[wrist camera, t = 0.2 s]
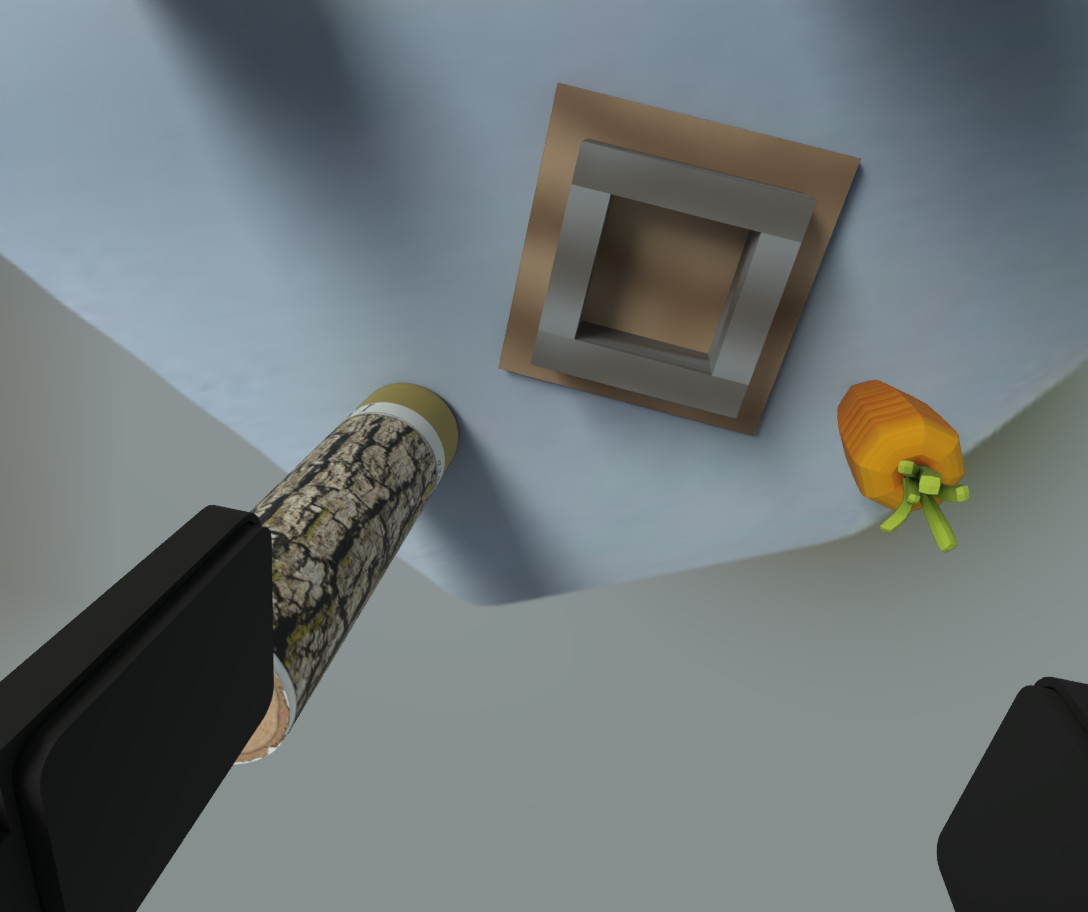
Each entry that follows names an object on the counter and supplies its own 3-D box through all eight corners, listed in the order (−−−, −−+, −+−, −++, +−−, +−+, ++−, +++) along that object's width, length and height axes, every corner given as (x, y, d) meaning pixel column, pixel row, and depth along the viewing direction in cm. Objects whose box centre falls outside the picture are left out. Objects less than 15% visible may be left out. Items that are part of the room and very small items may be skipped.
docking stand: (560, 83, 39) (546, 79, 35) (856, 157, 39) (881, 164, 34) (501, 363, 46) (484, 390, 42) (751, 429, 46) (761, 464, 41)
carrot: (891, 433, 45) (990, 572, 31) (806, 426, 45) (867, 560, 32) (911, 353, 42) (1026, 466, 29) (821, 347, 43) (893, 455, 30)
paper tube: (473, 401, 48) (306, 660, 25) (446, 488, 51) (274, 788, 28) (374, 364, 48) (117, 590, 25) (352, 453, 51) (105, 726, 28)
